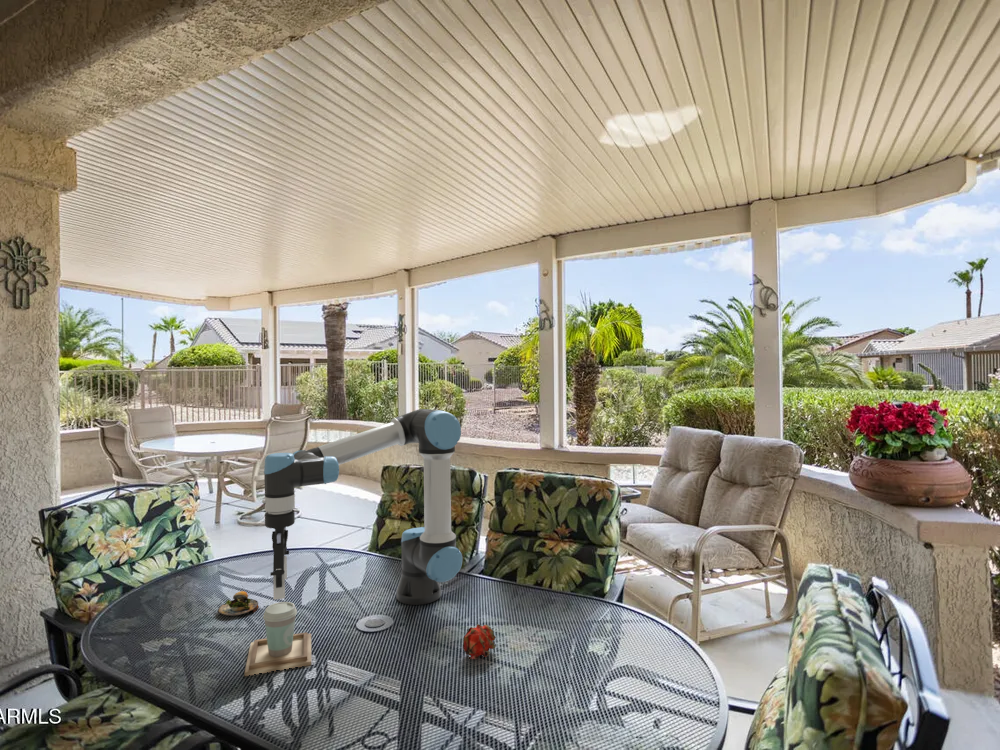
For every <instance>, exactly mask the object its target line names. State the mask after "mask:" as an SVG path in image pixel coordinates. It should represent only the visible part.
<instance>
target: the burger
mask: <svg viewBox="0 0 1000 750" xmlns="http://www.w3.org/2000/svg"><path fill="white" fill-rule="evenodd" d="M243 589H244V587H242V588H241V590H240V591H238V592H236V593H234V595H233V596H232V599H233V600H232V599H231V600H230V599H227V600H225V603H223V604H221V605H220V606H219V607H218V609H217V614H218V613H220V614H221V615H224V616H240V615H244V614H247V613H249V612H251V611H252V614H254V613H256V612H258V608H259V607H260V606H259V601H258V600H257V599H253V598H249V594H248V593H247V591H244V590H243Z"/></svg>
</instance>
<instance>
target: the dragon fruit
mask: <svg viewBox="0 0 1000 750" xmlns="http://www.w3.org/2000/svg"><path fill="white" fill-rule="evenodd" d="M496 638H497V637H496V635H495V633H494V629H493V628H491V627H490V626H489V625H488V624H484V625H483V626H482V625H481V624H478V623H477V624H476V627H469V628H468V630H467V631H466V632H465V635H464V636H463V642H462V650H464V652H465V654H466V655H467V656H468V660H469V659H470V660H475V661H476V660H478V659H479V658H480V657H479V656H482V655H483V656H484V657H486V658H487V657H488V656H489V655H490V653H491V652H490V649H491V650H494V649H496V647H497V644H496V643H495V642H494V641H495V640H496ZM469 655H471V657H469ZM483 656H482V657H483ZM484 657H483V658H484Z"/></svg>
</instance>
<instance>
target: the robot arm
mask: <svg viewBox="0 0 1000 750" xmlns="http://www.w3.org/2000/svg"><path fill="white" fill-rule="evenodd" d="M461 427H462V426H461V424H460V421H459V419H458V418H457V417H456V415H454V414H452V413H450V412H447V411H445V410H439V409H432V408H431V409H429V408H419V409H416V410H414V411H410V412H407V413H403V414H401V415H399V416H396V417H393V418H391V420H390V422H388V423H386V424H382V425H379V426H377V427H373V428H370V429H367V430H364V431H362V432H361V431H360V432H358V433H355V434H353V435H349V436H347V437H344V438H340V439H337V440H333V441H330V442H329V443H325V444H323V445H320V446H316V447H312V448H310V449H308V450H305V449H304V450H296V451H294V452H275V453H270V454H268V455H266V456H265V458H264V465H263V467H264V469H263V475H264V482H263V483H264V499H262V502H261V503H262V504H264V510H265V513H264V526H265V527H266V528H268V529H274V531H272V533H271V541H272V547H271V548H272V550H273V565H272V566H273V568H272V569H273V571H272V572H270V576H272V578H273V579H272V580H273V587H272V588H273V600H283V599H285V598H286V580H287V579H288V563H287V562H288V556H287V555H290V550H288V547H287V542H288V537H289V530H288V529H287V528H288V527H292V526H293V525H294V524H295V522H296V520H295V519H296V517H295V516H296V515H295V513H296V512H295V510H294V509H295V507H296V506H295V504H296V499H295V497H296V495H295V488H300V487H305V486H306V487H307V486H315V485H327V484H330V483H335V482H337V480H338V479H339V475H340V466H341V465H343V464H346V463H349V462H351V461H355V460H357V459H360V458H362V457H365V456H369V455H371V454H374V453H377V452H379V451H380V452H381V451H382V450H385V449H387V448H388V449H389V448H390V447H393V446H396V445H397V446H401V447H402V446H406V445H409V444H418V454H419V455H420V456H421V457H422V458H423V506H424V507H423V509H424V510H423V511H424V512H423V513H424V514H423V515H424V516H423V518H424V519H423V521H424V523H423V524H424V525H423V526H421V527H413V528H409V529H405V530H404V531H403V532H402V534H401V541H400V544H401V575H400V579H399V581H398V585H397V588H396V594H395V595H396V600H397V602H399V603H402V604H403V605H411V606H421V605H426V604H431V603H433V602H435V601H437V600H439V599H440V597H441V596H442V587H441V584H440V583H446V582H448V581H451V580H452V579H454V578H455V577H456V575H457V574H458V573H459V572H460V570H461V569H462V565H463V554H462V552H461V551H460V549H459V548H458V547H457V534H456V533H454V532H453V530H452V501H451V500H452V491H451V490H452V489H451V487H452V486H451V483H452V481H451V458H452V456H453V455H454V454H455V453H456V445H457V444H458V442H459V441H460V439H461V438H462V437H461V436H462V428H461ZM286 527H287V528H286Z"/></svg>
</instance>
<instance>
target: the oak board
mask: <svg viewBox="0 0 1000 750" xmlns="http://www.w3.org/2000/svg"><path fill="white" fill-rule="evenodd" d="M247 655H248V656H247V658H246V659H247V660H246V664H245V667H244V668H245V670H244V677H250V676H255V675H254V674H256V675H260V674H259V673H262V674H266V673H267V672H268V673H272V672H271V671H274V672H277V671H276V670H280V671H284V669H286V670H290V669H289V668H292V669H296V668H295V667H298V668H302V666H304V667H310V666H312V633H308V632H299V633H294V634H293V643H292V650H291V652H290V653H288V654H287V655H284V656H280V657H273V656H270V655H269V651H268V643H267V637H266V638H260V639H254V641H253V642H250V646H249V649H248V654H247ZM249 675H250V676H249Z"/></svg>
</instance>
